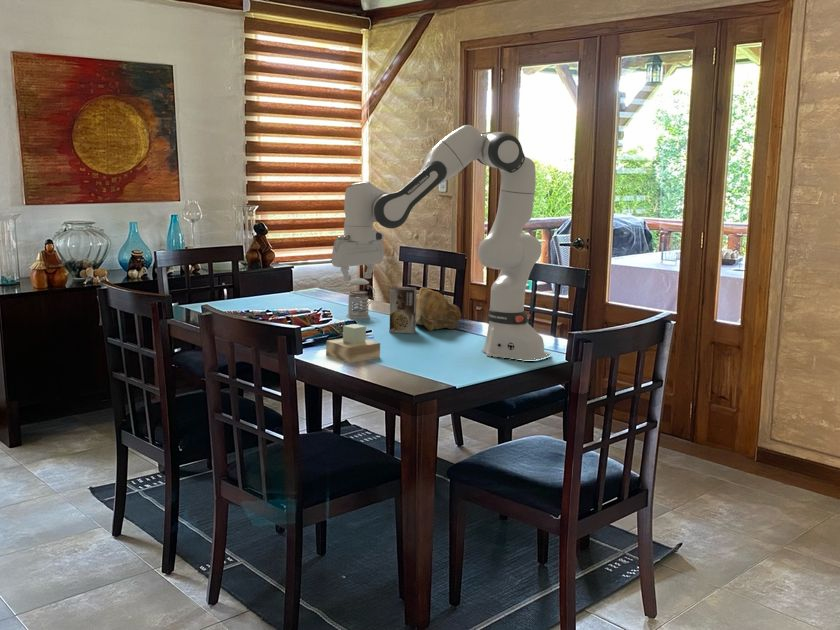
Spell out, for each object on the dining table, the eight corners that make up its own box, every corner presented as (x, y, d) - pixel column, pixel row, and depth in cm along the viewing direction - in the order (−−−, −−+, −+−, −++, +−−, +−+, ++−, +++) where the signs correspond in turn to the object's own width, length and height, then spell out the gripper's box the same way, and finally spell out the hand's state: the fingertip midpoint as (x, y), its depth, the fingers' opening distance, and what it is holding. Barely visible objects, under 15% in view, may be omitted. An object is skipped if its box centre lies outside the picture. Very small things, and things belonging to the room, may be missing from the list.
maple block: (379, 358, 259) (380, 343, 258) (349, 363, 251) (349, 347, 250) (356, 351, 267) (356, 336, 266) (326, 356, 259) (326, 340, 258)
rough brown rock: (464, 336, 299) (469, 295, 297) (419, 332, 296) (424, 291, 294) (452, 325, 322) (457, 288, 320) (410, 321, 319) (415, 283, 317)
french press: (342, 314, 327) (343, 252, 323) (369, 313, 332) (371, 251, 327) (350, 319, 318) (352, 254, 314) (378, 317, 323) (380, 254, 319)
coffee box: (415, 330, 302) (417, 287, 299) (413, 334, 296) (415, 289, 293) (391, 329, 303) (392, 285, 300) (388, 332, 296) (390, 288, 294)
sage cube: (365, 341, 259) (365, 326, 258) (353, 344, 255) (354, 328, 254) (354, 339, 262) (354, 323, 261) (342, 341, 258) (343, 325, 257)
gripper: (342, 237, 243) (341, 283, 245) (387, 234, 259) (386, 277, 261) (327, 235, 247) (326, 281, 249) (372, 232, 263) (371, 275, 265)
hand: (357, 279), depth 255 cm, fingers open, 8 cm apart
